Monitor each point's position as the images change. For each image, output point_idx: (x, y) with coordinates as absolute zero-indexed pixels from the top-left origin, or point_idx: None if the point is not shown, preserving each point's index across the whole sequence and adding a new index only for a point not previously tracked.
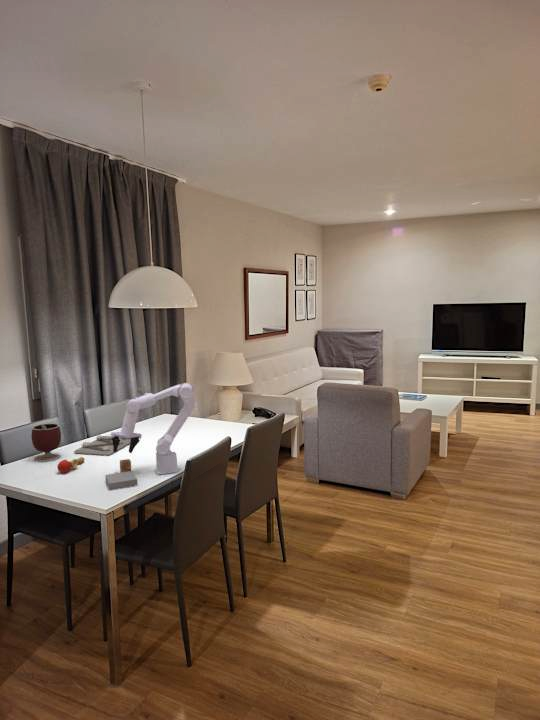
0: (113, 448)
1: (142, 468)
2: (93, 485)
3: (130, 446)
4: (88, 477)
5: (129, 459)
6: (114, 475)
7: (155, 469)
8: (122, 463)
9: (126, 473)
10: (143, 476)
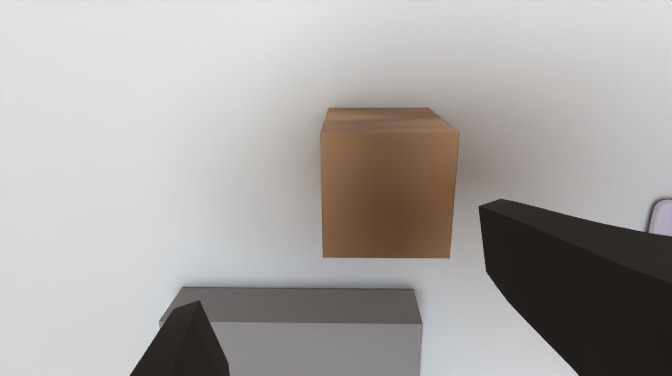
0: (154, 352)
1: (569, 86)
2: (87, 333)
3: (558, 277)
4: (21, 118)
5: (454, 159)
6: (241, 371)
7: (664, 222)
8: (339, 253)
9: (353, 367)
10: (502, 311)
